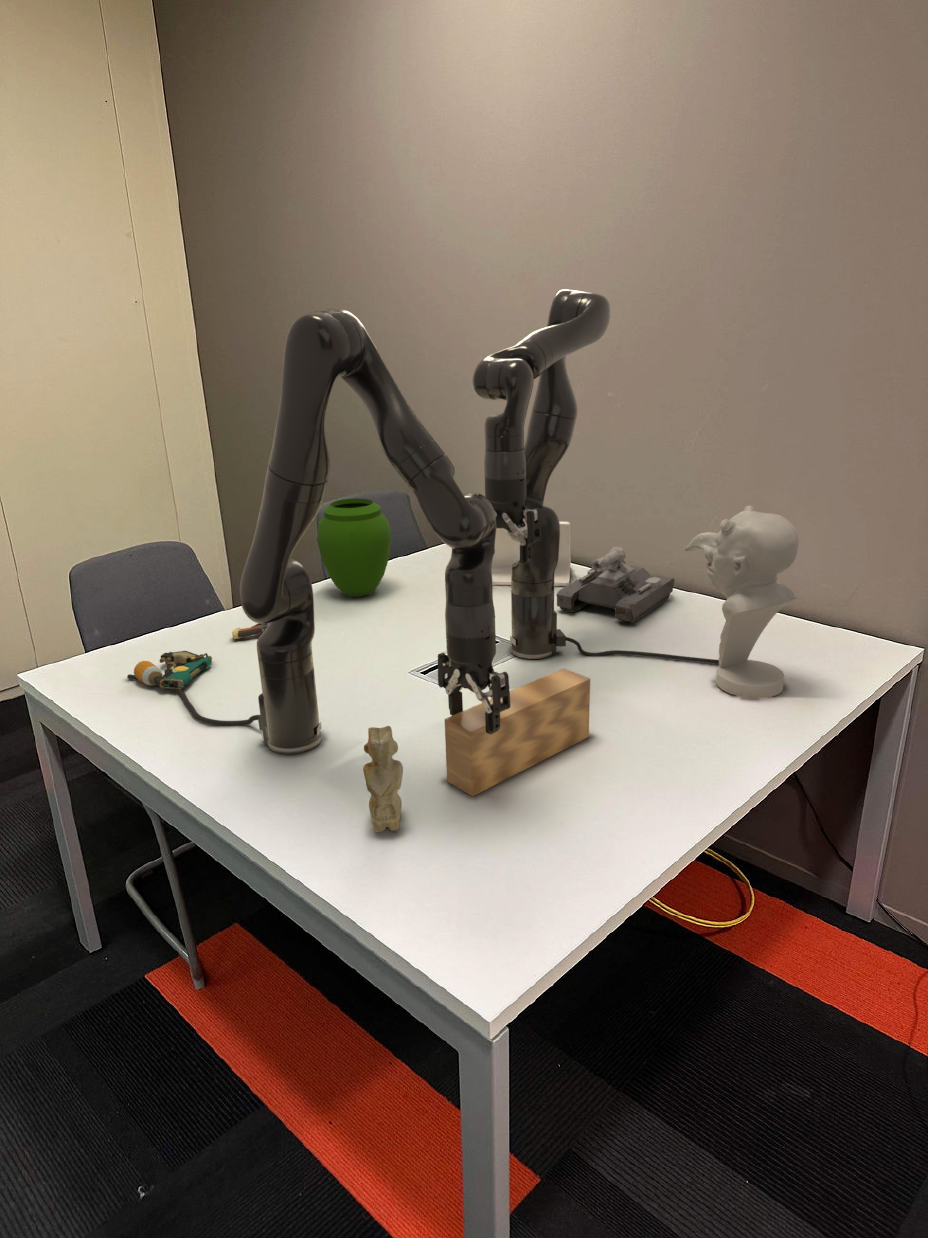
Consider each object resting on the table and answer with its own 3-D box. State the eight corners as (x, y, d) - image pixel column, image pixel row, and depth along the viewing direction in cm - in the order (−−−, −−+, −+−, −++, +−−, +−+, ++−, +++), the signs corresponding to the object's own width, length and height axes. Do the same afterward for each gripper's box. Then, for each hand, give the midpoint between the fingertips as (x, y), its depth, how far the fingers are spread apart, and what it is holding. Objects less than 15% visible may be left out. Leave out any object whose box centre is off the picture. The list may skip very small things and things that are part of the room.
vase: (409, 587, 231) (404, 499, 223) (364, 609, 216) (357, 515, 208) (353, 577, 241) (346, 492, 233) (306, 597, 226) (297, 507, 218)
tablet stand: (569, 585, 229) (570, 524, 223) (476, 584, 232) (475, 523, 226) (570, 566, 246) (571, 508, 240) (484, 564, 249) (483, 507, 243)
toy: (603, 584, 229) (605, 530, 224) (673, 597, 218) (677, 540, 213) (555, 612, 210) (556, 553, 205) (630, 627, 199) (633, 566, 194)
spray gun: (177, 659, 191) (231, 671, 185) (120, 684, 176) (176, 698, 171) (176, 641, 190) (230, 653, 184) (118, 665, 175) (174, 678, 169)
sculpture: (406, 808, 131) (401, 721, 126) (405, 835, 125) (400, 745, 119) (368, 810, 131) (361, 723, 126) (365, 837, 124) (358, 747, 119)
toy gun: (228, 631, 198) (268, 628, 196) (261, 608, 215) (298, 605, 213) (230, 642, 198) (270, 639, 196) (263, 618, 216) (300, 616, 214)
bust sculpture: (717, 648, 186) (730, 489, 174) (806, 688, 166) (828, 512, 154) (660, 663, 179) (669, 500, 167) (745, 707, 159) (763, 525, 147)
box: (562, 725, 156) (563, 668, 152) (588, 736, 151) (590, 678, 147) (446, 781, 139) (444, 718, 135) (472, 796, 134) (470, 732, 130)
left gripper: (421, 622, 132) (427, 716, 137) (483, 646, 122) (487, 747, 127) (458, 610, 136) (462, 702, 142) (521, 632, 126) (523, 730, 132)
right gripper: (462, 473, 156) (465, 558, 162) (523, 481, 147) (524, 571, 153) (488, 466, 161) (491, 548, 167) (549, 474, 152) (549, 561, 158)
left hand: (474, 723), depth 134 cm, fingers open, 8 cm apart
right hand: (507, 559), depth 160 cm, fingers open, 8 cm apart
